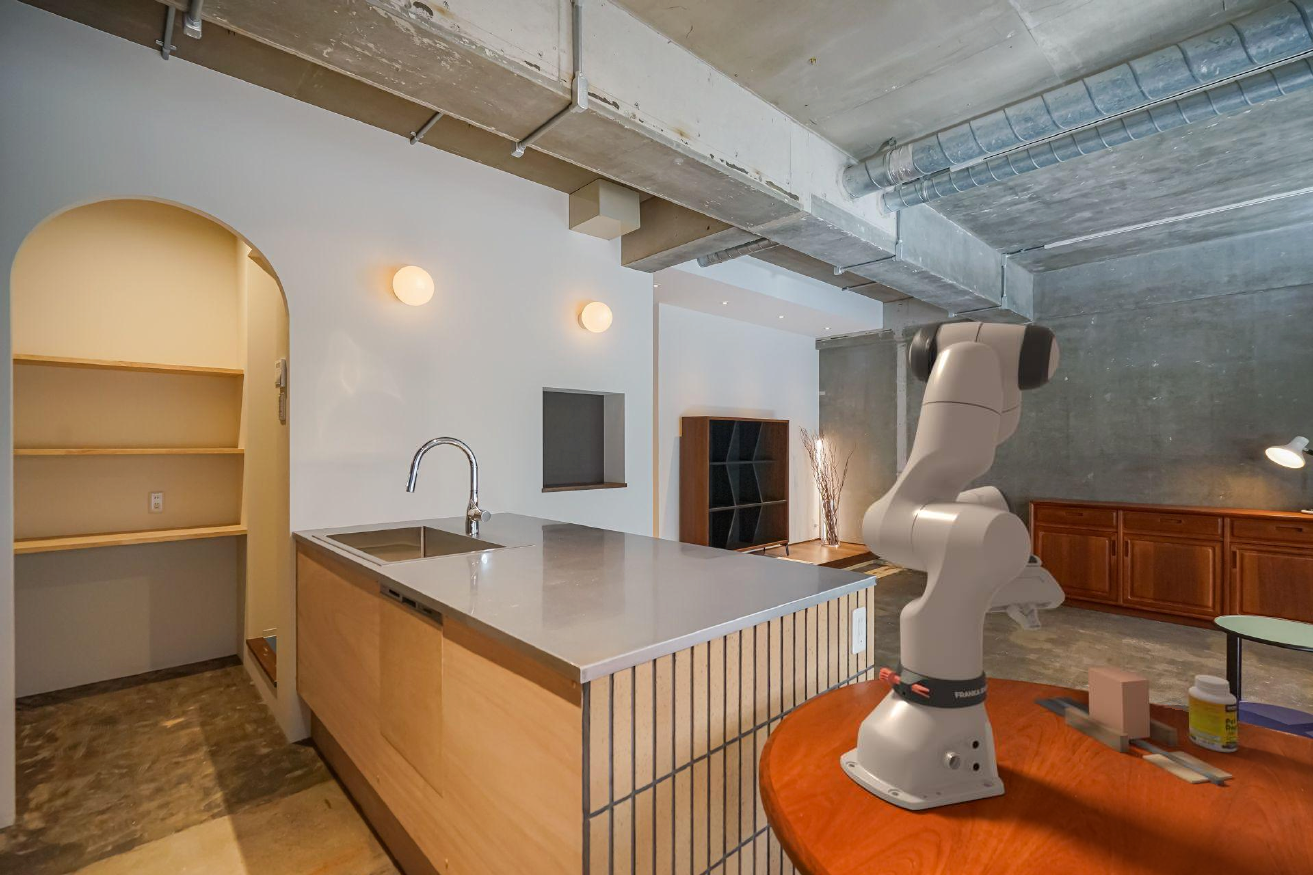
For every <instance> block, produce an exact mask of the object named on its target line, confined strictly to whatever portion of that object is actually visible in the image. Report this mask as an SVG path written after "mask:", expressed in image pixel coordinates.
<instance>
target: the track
mask: <svg viewBox="0 0 1313 875" xmlns="http://www.w3.org/2000/svg"><path fill="white" fill-rule="evenodd" d="M1057 698H1058V697H1050V698H1049V699H1050V700H1051V701H1053V702H1055V703H1057V704H1059V705H1061V706H1063V707H1065V717H1064V721H1065V722H1064V724H1066V725H1067V726H1070V727H1071V728H1073V729H1075V730H1077V731H1079V732H1081V733H1082V734H1084V735H1086V736H1088V737H1090V738H1092V739H1094V740H1096V741H1098V742H1100V743H1101V744H1103V745H1106V746H1107V747H1109V748H1110V749H1113V750H1115V751H1117V752H1118V753H1121V754H1122V753H1129V752H1130V749H1129V748H1130V744H1129V743H1132V744H1134V745H1136V746H1138V747H1140V748H1141V749H1144V750H1146V751H1148V752H1150V753H1152V754H1153V755H1154V754H1160V755H1162V756H1164V757H1166V758H1168V759H1170V760H1172V761H1174V762H1176V763H1178V764H1180V765H1182V766H1184V767H1186V768H1188V769H1190V770H1192V771H1194V772H1196V773H1198V774H1200V775H1202V776H1204V777H1206V778H1208V779H1209V781H1208V782H1209V783H1212V784H1214V785H1216V786H1220V785H1222V786H1223V785H1225V779H1221V778H1219V777H1217V776H1215V775H1213V774H1211V773H1209V772H1207V771H1205V770H1203V769H1201V768H1199V767H1197V766H1195V765H1193V764H1191V763H1189V762H1187V761H1185V760H1182V759H1180V758H1178V757H1176V756H1174V755H1172V754H1170V753H1171V752H1168V751H1166V750H1164V749H1163V748H1160V747H1158V746H1156V745H1154V744H1151V743H1150V742H1148V741H1146V740H1143V739H1142V738H1137V739H1129V735H1127V734H1125V733H1123V732H1121V731H1119V730H1117V729H1115V728H1113V727H1111V726H1109V725H1107V724H1105V723H1103V722H1101V721H1099V720H1097V719H1094V718H1092V717H1090V716H1089V714H1088V713H1086V712H1084V711H1082V710H1080V709H1078V708H1076V707H1074V706H1072V705H1070V704H1068V703H1066V702H1064V701H1061V700H1059V699H1057ZM1149 738H1151V739H1153V740H1155V741H1156V740H1157V741H1156V742H1159V743H1161V744H1163V745H1165V746H1167V747H1170V748H1171V747H1177V746H1178V743H1179V742H1178V741H1179V740H1178V729H1177V728H1174V727H1172V726H1170V725H1167V724H1165V723H1164V722H1161V721H1159V720H1156V719H1154V718H1152V717H1150V737H1149Z"/></svg>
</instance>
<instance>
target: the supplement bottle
mask: <svg viewBox="0 0 1313 875" xmlns="http://www.w3.org/2000/svg"><path fill="white" fill-rule="evenodd" d="M1230 691H1231V688H1230V682H1229V681H1228V680H1226V679H1224V678H1221V677H1218V676H1215V675H1209V674H1197V675H1195V676H1194V686H1191V687H1189V689H1188V721H1189V722H1188V723H1189V724H1188V726H1189V729H1188V730H1189V738H1190V740H1191V741H1192V742H1193V743H1194V744H1195V745H1198V746H1199V747H1202V748H1204V749H1208V750H1210V751H1213V752H1214V751H1215V752H1219V753H1232V752H1236V751H1237V749H1238V748H1239V747H1238V743H1239V742H1238V702H1237V698H1236V696H1235V695H1234V694H1232V693H1230ZM1190 713H1192V714H1190ZM1233 722H1234V723H1233Z"/></svg>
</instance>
